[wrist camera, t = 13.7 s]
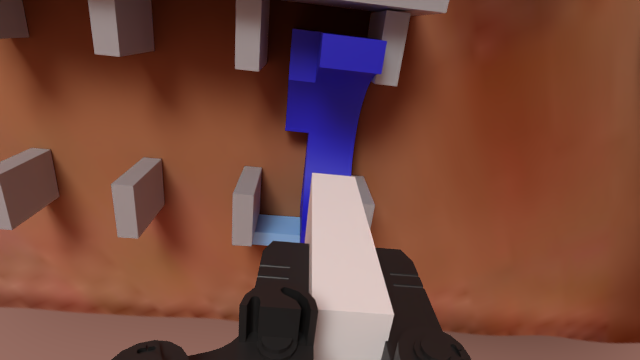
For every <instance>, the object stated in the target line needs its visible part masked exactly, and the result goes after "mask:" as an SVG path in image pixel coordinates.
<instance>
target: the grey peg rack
mask: <svg viewBox="0 0 640 360" xmlns="http://www.w3.org/2000/svg"><path fill="white" fill-rule="evenodd" d="M283 1H291V2H299V3H307V4H315V5H324V6H332V7H340V8H348V9H356V10H364V11H372V12H375V13H371V16H370V22H369V29H368V36H367V37H368V38H373V39H378V40H384V41H387V45H386V50H385V56H384V62H383V68H382V73H381V74H377V75H375V76H374V77H373V79H372V80H371V81H372V82H373V83H374V84H380V85H389V86H397V84H398V79H399V74H400V68H401V63H402V58H403V52H404V47H405V42H406V36H407V31H408V26H409V20H410V16H418V15H429V14H441V13H446V12H447V7H448V3H449V0H283ZM88 6H89V14H90V22H91V30H92V38H93V46H94V53H95V54H98V55H107V56H117V57H122V56H128V55H134V54H139V53H145V52H151V51H155V50H154V35H153V19H152V4H151V0H88ZM269 14H270V0H236V31H235V69H239V70H248V71H258V72H259V71H260V70H261V69H262V68H263V67H264V66H265V65H266V64H267V54H268V34H269ZM25 37H29V33H28V28H27V23H26V18H25V12H24V7H23V2H22V0H0V39H2V38H25ZM261 176H262V168H260V167H249V166H244V169H243V171H242V173H241V176H240V178H239V180H238V183H237V185H236V188H235V190H234V192H233V214H232V245H241V246H252V245H267V246H268V245H269V244H270V243H271V242H272V241H283V242H295V243H300V217H289V216H276V215H262V214H259V213H260V196H261ZM351 176H353V177H355V179H356V182H357V186H358V189H359V193H360V196H361V200H362V203H363V207H364V210H365V214H366V218H367V221H368V225H369V228H370V229H371V223H372V218H373V212H374V207H375V204H374V202H373V199H372V197H371V194H370V191H369V189H368V186H367V184H366V181H365V179H364V176H354V175H351ZM111 188H112V196H113V204H114V211H115V219H116V227H117V235H118V237H123V238H139V237H140V236H141V234H142V233H143V232H144V231H145V229H146V228H147V227H148V225H149V224H150V223H151V222H152V220H153V219H154V218H155V216H156V215H157V214H158V213H159V211H160V210H161V209H162V207H163V206H164V205H165V203H164V188H163V172H162V159H155V158H144V157H143V158H142V159H141V160H140V161H139V162H137V163H136V164H135V165H134V166H133V167H131V168H130V169H129V170H128V171H126V172H125V173H124V174H123V175H122V176H120V177H119V178H118V179H117V180H116V181H114V182H113V183H112V184H111ZM58 197H59V191H58V186H57V181H56V176H55V170H54V165H53V160H52V155H51V150H50V149H39V148H30V149H28V150H26V151H24V152H21V153H19V154H17V155H15V156H12V157H10V158H8V159H6V160H4V161H1V162H0V229H6V230H13V229H14V228H16V227H17V226H18V225H20V224H21V223H23V222H24V221H26V220H27V219H28V218H30V217H31V216H33V215H34V214H36V213H37V212H38V211H40V210H41V209H43V208H44V207H46V206H47V205H48V204H50V203H51V202H53V201H54V200H56V199H57V198H58Z"/></svg>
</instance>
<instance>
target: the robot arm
mask: <svg viewBox="0 0 640 360" xmlns="http://www.w3.org/2000/svg"><path fill="white" fill-rule="evenodd" d="M112 360H471V359H470V356H469V355H468V353H467V352H466V350H465V349H464V347H463V346H462V345H461V344H460V343H459V342H458V341H456V340H455V339H454V338H453V337H451V336H450V335H448V334H446V333H444V332H443V331H442V329H441V327H440V324H439V322H438V320H437V317H436V315H435V313H434V310H433V308H432V306H431V303H430V301H429V299H428V296H427V294H426V292H425V289H423V285H422V282H421V280H420V278H419V277H418V273H417V271H416V268H415V266H414V264H413V261H412V260H411V259H410V258H408V257H407V256H406V255H405V254H404V253H403V252H402V251H401V250H397V249H385V248H375V246H374V242H373V239H372V235H371V232H370V228H369V225H368V221H367V218H366V214H365V210H364V207H363V203H362V200H361V196H360V193H359V189H358V186H357V182H356V179H355V177H353V176H342V175H332V174H321V173H312V178H311V187H310V197H309V206H308V215H307V225H306V234H305V243H295V242H283V241H272V242H271V243H270V244H269V245H268V246H267V247H266V248H265V249H264V250H263V253H262V258H261V262H260V267H259V271H258V277H257V281H256V285H255V288H254V289H252V290H251V291H250V292H248V293H247V294H246V295H245V296H244V298H243V300H242V302H241V303H240V308H239V336H238V337H237V338H236V339H235V340H233V341H232V342H231V343H229V344H227V345H225V346H224V347H222V348H219V349H216V350H213V351H209V352H205V353H200V354H196V355H191V356H187V355H186V353H185V352H184V350H183V349H182V348H181V347H179V346H177V345H176V344H173V343H172V342H168V341H158V340H154V341H148V342H144V343H139V344H136V345H134V346H132V347H130V348H128V349H125V350H123V351H121V352H120V353H119V354H118V355H117V356H115V357H114V358H113V359H112Z"/></svg>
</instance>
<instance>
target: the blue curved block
mask: <svg viewBox="0 0 640 360" xmlns="http://www.w3.org/2000/svg"><path fill="white" fill-rule="evenodd" d="M386 45H387V41H384V40H378V39H373V38H368V37H360V36H352V35H344V34H335V33H327V32H319V31H311V30H303V29H295V28H294V29H292V41H291V54H290V67H289V80H288V99H287V114H286V128H285V131H295V132H305V133H308V138H307V148H306V157H305V167H304V177H303V186H302V196H301V205H300V243H305V234H306V225H307V215H308V206H309V197H310V187H311V178H312V173H321V174H332V175H342V176H351V169H352V159H353V150H354V142H355V136H356V130H357V125H358V120H359V115H360V111H361V107H362V103H363V100H364V97H365V94H366V91H367V88H368V86H369V84H370V82H371V80H372V79H373V77H374V76H375V75H377V74H381V73H382V68H383V62H384V56H385V50H386Z"/></svg>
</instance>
